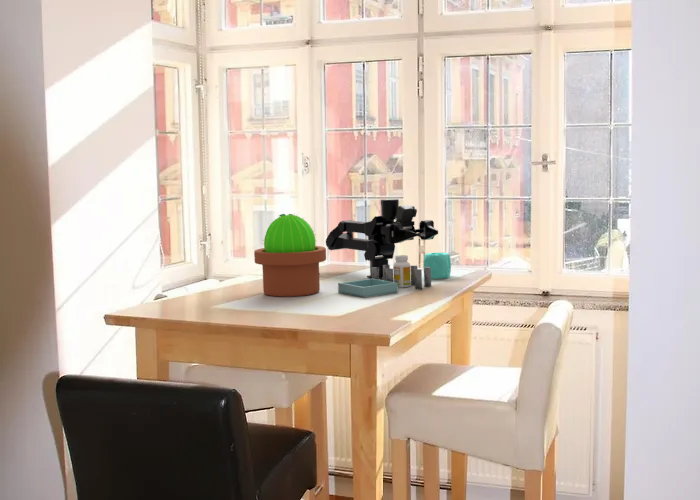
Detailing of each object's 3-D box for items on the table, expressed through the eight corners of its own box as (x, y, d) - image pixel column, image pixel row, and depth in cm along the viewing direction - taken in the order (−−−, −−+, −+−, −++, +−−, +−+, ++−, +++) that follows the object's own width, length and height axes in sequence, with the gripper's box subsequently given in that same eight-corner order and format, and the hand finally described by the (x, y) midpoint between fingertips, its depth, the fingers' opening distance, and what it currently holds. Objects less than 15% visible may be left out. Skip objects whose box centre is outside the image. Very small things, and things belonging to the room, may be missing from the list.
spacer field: (367, 285, 286) (366, 267, 285) (400, 281, 294) (400, 263, 293) (402, 291, 271) (402, 272, 271) (436, 286, 279) (436, 267, 279)
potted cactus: (317, 298, 264) (314, 214, 261) (247, 298, 268) (243, 215, 265) (333, 287, 285) (331, 209, 282) (268, 287, 289) (265, 210, 287)
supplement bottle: (411, 284, 285) (410, 254, 284) (410, 287, 280) (409, 256, 279) (394, 285, 286) (393, 255, 285) (393, 287, 280) (392, 257, 279)
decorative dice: (451, 275, 303) (450, 252, 302) (447, 279, 296) (446, 255, 295) (428, 275, 306) (427, 252, 305) (423, 278, 298) (423, 255, 297)
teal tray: (338, 292, 273) (338, 283, 273) (372, 288, 281) (371, 278, 281) (363, 297, 263) (363, 287, 263) (397, 292, 270) (397, 282, 270)
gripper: (372, 208, 288) (403, 209, 275) (417, 204, 299) (448, 206, 286) (373, 242, 289) (404, 245, 277) (418, 237, 300) (449, 240, 287)
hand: (426, 233), depth 282 cm, fingers open, 9 cm apart
